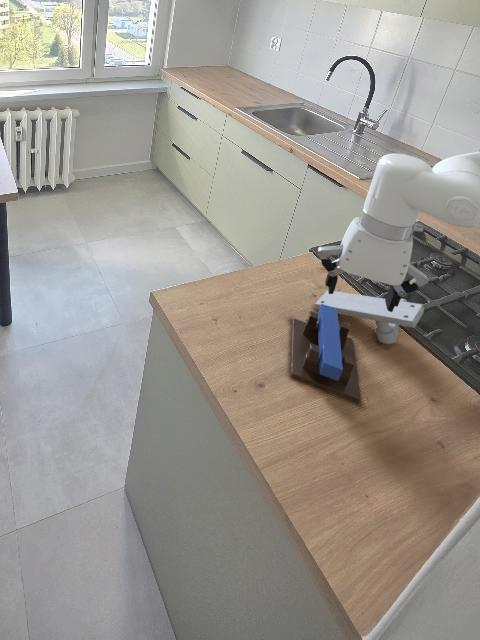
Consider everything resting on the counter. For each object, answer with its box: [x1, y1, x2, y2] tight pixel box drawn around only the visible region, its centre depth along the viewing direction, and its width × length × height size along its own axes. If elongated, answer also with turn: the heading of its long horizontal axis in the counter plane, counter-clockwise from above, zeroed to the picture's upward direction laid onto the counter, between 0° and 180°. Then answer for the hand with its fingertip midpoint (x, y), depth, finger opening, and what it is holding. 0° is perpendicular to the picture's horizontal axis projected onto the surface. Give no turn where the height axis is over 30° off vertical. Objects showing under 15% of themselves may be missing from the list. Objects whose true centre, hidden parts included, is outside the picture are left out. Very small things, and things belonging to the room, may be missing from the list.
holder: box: [290, 310, 361, 403], centre depth 87 cm, size 12×15×7 cm
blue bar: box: [317, 304, 343, 381], centre depth 86 cm, size 3×16×3 cm, turn 155°
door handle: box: [314, 289, 425, 345], centre depth 97 cm, size 18×8×20 cm
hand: (358, 297), depth 79 cm, fingers open, 9 cm apart
